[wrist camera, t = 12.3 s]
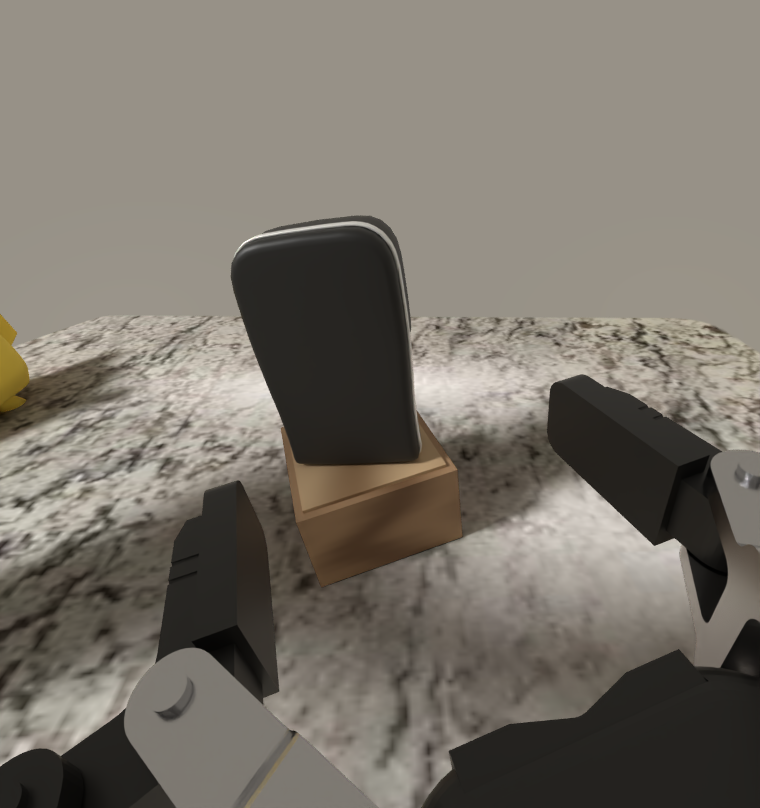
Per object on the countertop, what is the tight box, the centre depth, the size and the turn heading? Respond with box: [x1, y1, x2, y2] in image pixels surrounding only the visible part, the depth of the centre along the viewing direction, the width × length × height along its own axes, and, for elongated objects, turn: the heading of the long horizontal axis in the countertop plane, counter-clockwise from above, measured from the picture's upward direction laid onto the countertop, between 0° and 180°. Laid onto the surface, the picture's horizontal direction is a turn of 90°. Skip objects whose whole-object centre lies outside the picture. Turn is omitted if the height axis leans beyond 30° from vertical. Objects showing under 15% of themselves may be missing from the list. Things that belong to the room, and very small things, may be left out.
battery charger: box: [231, 216, 422, 464], centre depth 20 cm, size 7×4×11 cm, turn 82°
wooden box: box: [281, 412, 462, 587], centre depth 25 cm, size 8×8×5 cm
